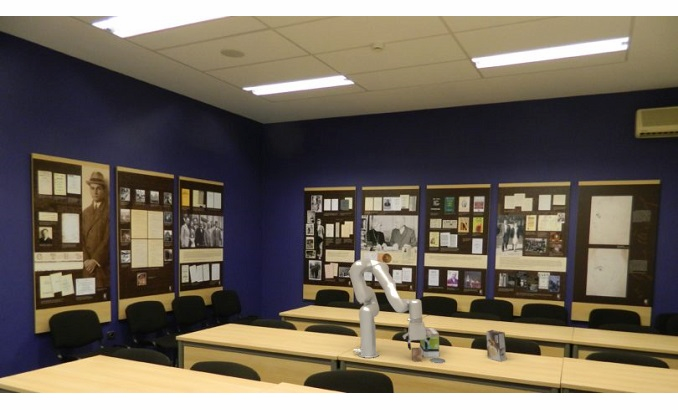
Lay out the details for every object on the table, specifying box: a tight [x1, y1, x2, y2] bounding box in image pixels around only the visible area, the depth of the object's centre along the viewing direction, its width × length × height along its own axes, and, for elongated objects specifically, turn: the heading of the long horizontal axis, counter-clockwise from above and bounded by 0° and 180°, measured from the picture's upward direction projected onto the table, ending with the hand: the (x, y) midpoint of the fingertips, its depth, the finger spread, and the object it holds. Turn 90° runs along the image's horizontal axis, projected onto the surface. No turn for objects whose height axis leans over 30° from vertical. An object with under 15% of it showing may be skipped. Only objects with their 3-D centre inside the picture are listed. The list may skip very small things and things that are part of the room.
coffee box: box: [486, 329, 507, 362], centre depth 263 cm, size 9×6×16 cm
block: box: [411, 347, 423, 363], centre depth 263 cm, size 5×5×7 cm
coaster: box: [429, 357, 446, 364], centre depth 261 cm, size 9×9×1 cm
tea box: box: [419, 327, 440, 358], centre depth 276 cm, size 15×10×15 cm, turn 179°
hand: (417, 349), depth 263 cm, fingers open, 9 cm apart
